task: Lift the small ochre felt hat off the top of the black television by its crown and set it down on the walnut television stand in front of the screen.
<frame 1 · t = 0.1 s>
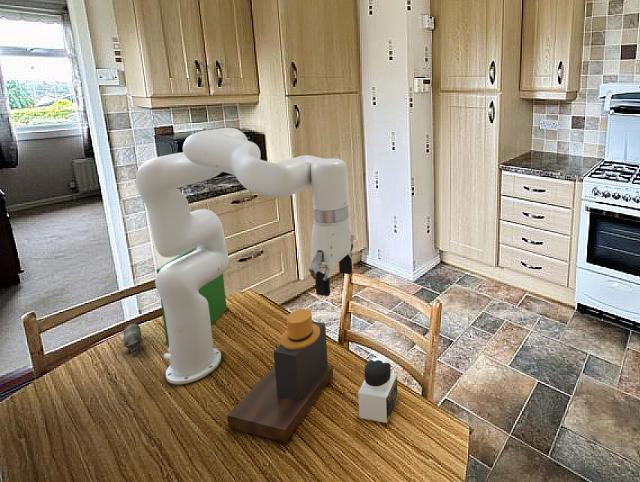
hand: (335, 283, 87), 31 cm above the table, tool pointing down, fingers open, 9 cm apart
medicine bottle: (379, 409, 90), on the table
hat: (300, 336, 91), point 16 cm above the table, touching television
hardback book: (198, 325, 120), on the table
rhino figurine: (134, 351, 109), on the table
television: (303, 379, 93), resting on tv stand
tv stand: (285, 402, 91), on the table
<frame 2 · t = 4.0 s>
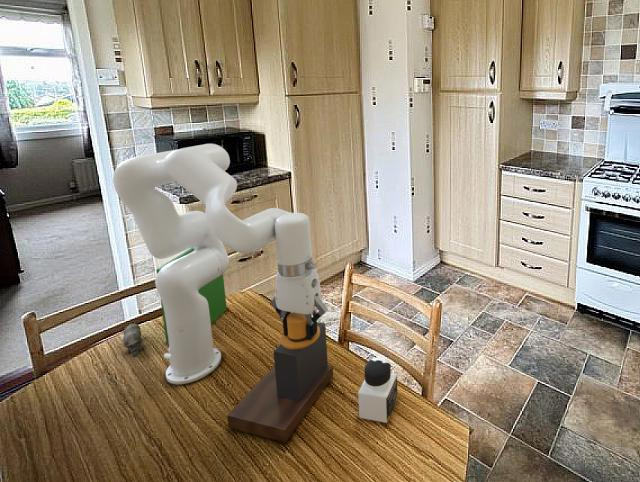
hand: (300, 333, 91), 17 cm above the table, tool pointing down, fingers closed on hat, 5 cm apart
hat: (300, 336, 91), point 16 cm above the table, touching gripper, television
everything else where it was.
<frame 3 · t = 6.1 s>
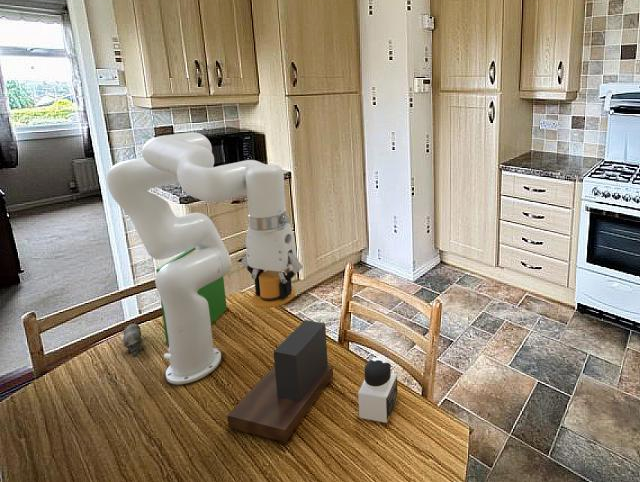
hand: (273, 293, 86), 29 cm above the table, tool pointing down, fingers closed on hat, 5 cm apart
hat: (274, 296, 86), point 28 cm above the table, touching gripper
everything else where it was.
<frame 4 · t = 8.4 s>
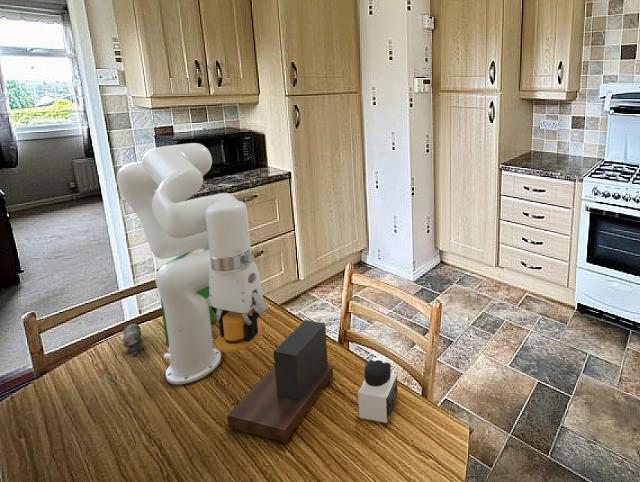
hand: (239, 334, 82), 22 cm above the table, tool pointing down, fingers closed on hat, 5 cm apart
hat: (239, 337, 82), point 22 cm above the table, touching gripper
everything else where it was.
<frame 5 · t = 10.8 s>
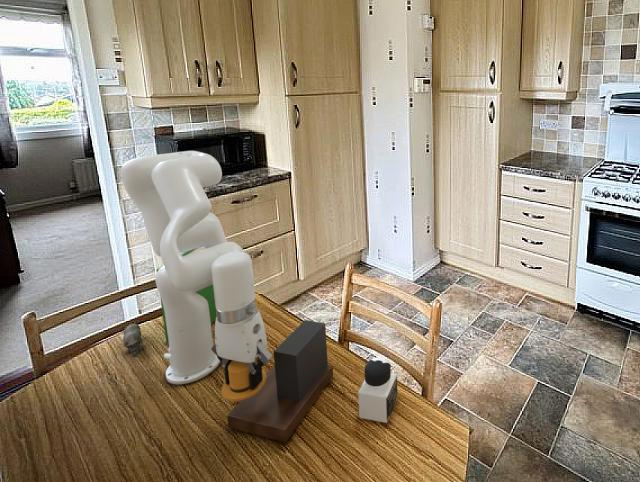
hand: (244, 381, 84), 11 cm above the table, tool pointing down, fingers closed on hat, 5 cm apart
hat: (244, 384, 84), point 10 cm above the table, touching gripper
everything else where it was.
when the fingers open (5 cm above the table, at t = 12.7 s): hat stays where it is, resting on tv stand.
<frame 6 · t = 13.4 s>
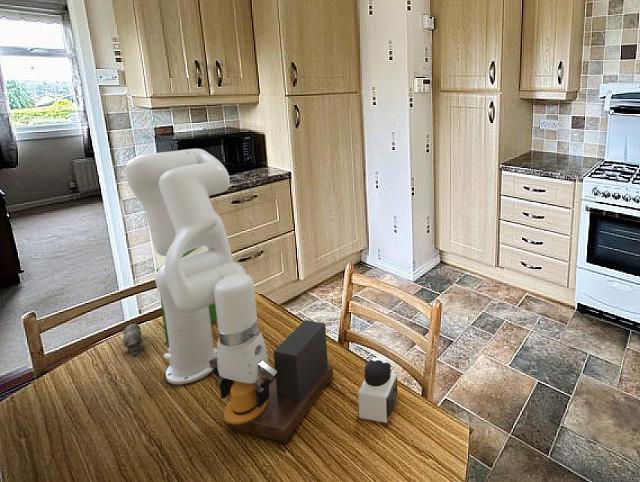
hand: (245, 398, 85), 6 cm above the table, tool pointing down, fingers open, 9 cm apart
hat: (246, 406, 85), point 4 cm above the table, touching tv stand
everything else where it was.
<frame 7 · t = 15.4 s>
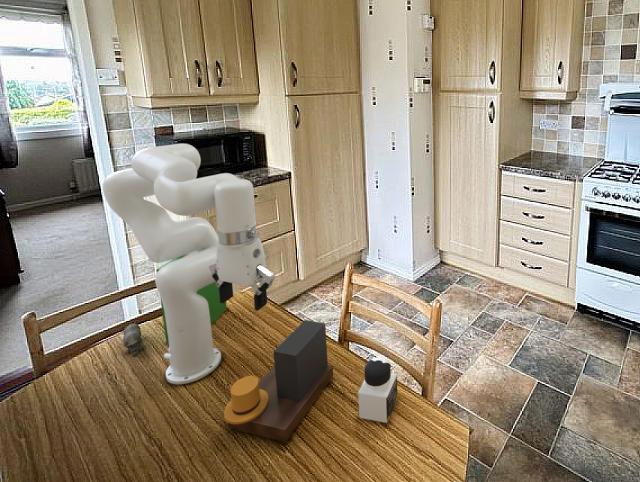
hand: (243, 303, 87), 27 cm above the table, tool pointing down, fingers open, 9 cm apart
nothing on the table moved.
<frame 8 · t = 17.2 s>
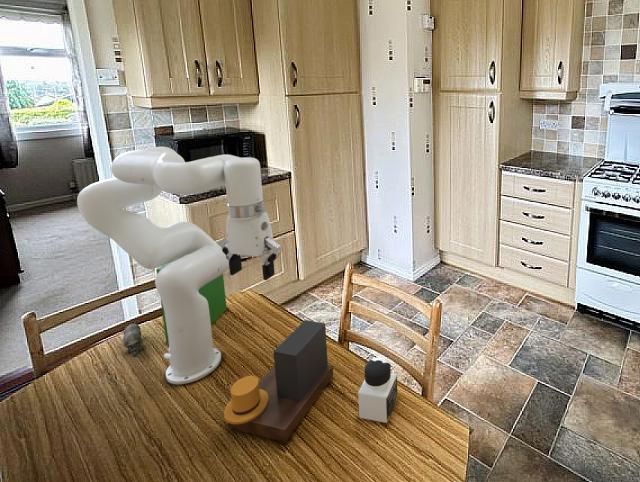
hand: (252, 275, 92), 30 cm above the table, tool pointing down, fingers open, 9 cm apart
nothing on the table moved.
at the end: hat inside the target area (7.2 cm from its centre), point 4.0 cm above the table; hat tilted 0°; the gripper is holding nothing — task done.
